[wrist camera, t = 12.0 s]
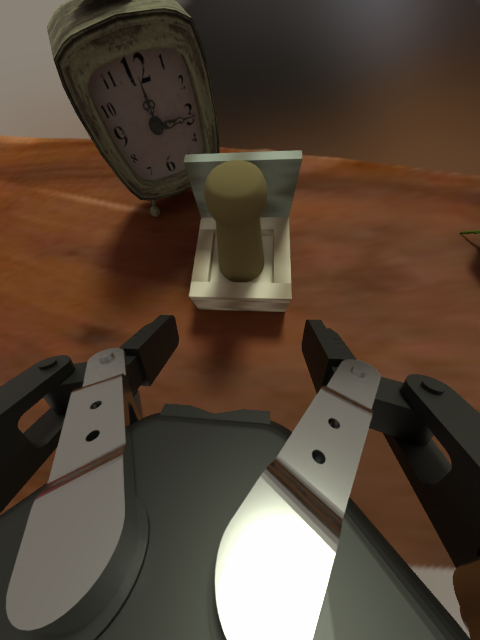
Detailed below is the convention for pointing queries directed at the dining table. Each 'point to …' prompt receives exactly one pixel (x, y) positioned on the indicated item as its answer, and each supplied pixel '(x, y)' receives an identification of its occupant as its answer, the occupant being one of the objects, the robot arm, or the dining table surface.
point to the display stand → (276, 276)
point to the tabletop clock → (137, 88)
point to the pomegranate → (470, 232)
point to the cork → (237, 217)
